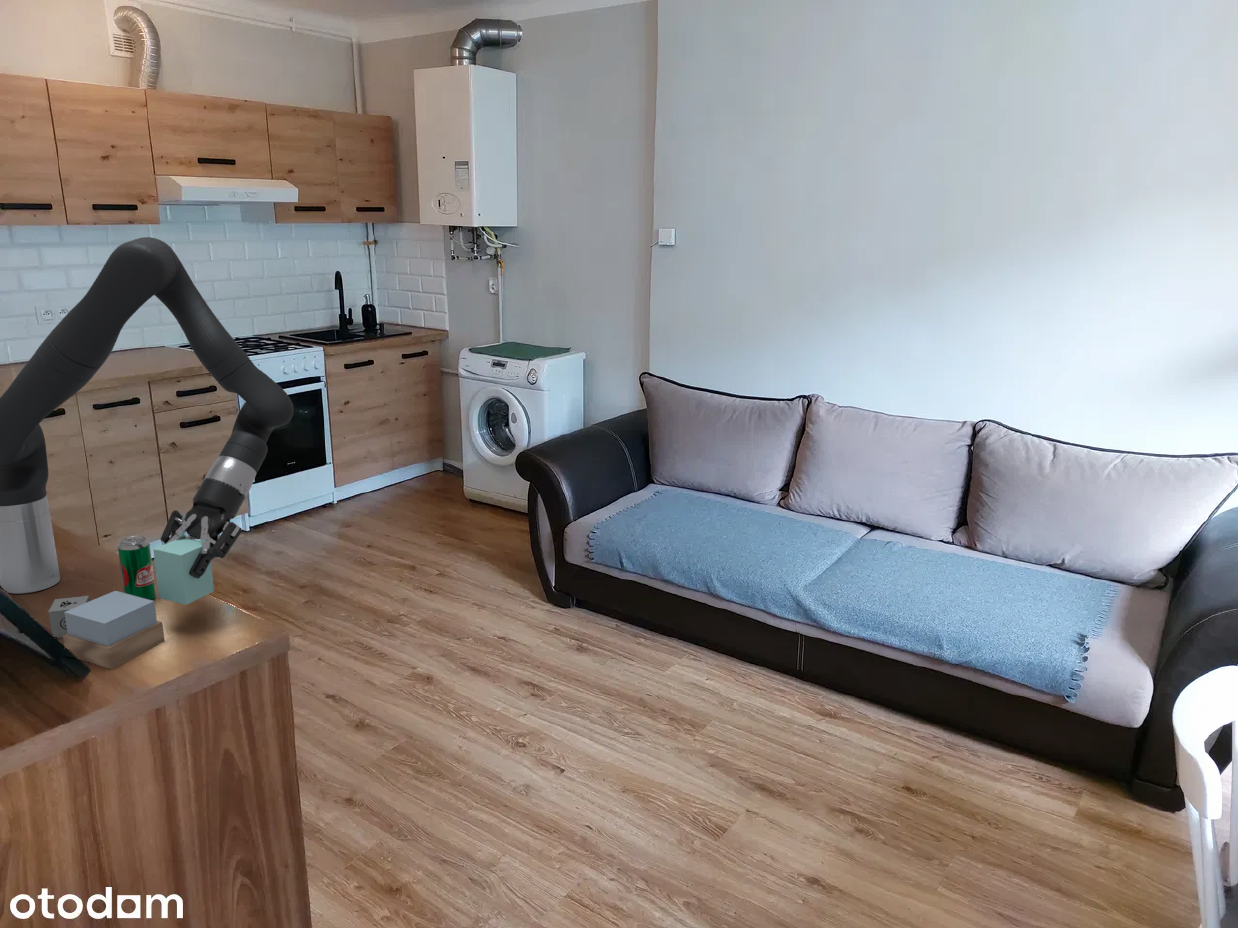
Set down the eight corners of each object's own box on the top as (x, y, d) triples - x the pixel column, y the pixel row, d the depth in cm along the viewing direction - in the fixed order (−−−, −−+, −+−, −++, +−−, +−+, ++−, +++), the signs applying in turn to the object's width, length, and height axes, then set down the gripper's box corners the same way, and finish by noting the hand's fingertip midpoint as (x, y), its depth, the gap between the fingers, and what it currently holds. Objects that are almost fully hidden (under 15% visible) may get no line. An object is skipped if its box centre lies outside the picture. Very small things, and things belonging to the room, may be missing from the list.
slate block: (67, 634, 137) (64, 612, 136) (118, 612, 145) (115, 590, 144) (107, 646, 134) (104, 623, 133) (157, 622, 142) (154, 600, 141)
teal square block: (158, 597, 145) (153, 549, 143) (186, 584, 151) (182, 537, 148) (186, 604, 143) (181, 555, 141) (213, 591, 149) (209, 543, 146)
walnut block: (66, 658, 138) (62, 636, 137) (120, 631, 147) (117, 610, 146) (112, 671, 134) (108, 648, 133) (165, 643, 143) (162, 621, 142)
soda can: (143, 608, 154) (134, 546, 151) (118, 604, 155) (110, 543, 152) (162, 596, 159) (155, 536, 156) (139, 593, 160) (131, 533, 157)
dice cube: (59, 625, 147) (55, 599, 146) (92, 621, 149) (88, 595, 148) (52, 638, 143) (48, 611, 141) (87, 634, 145) (83, 607, 143)
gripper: (180, 471, 151) (130, 556, 144) (245, 483, 147) (197, 572, 139) (206, 491, 157) (160, 573, 150) (269, 503, 153) (225, 589, 146)
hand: (178, 572), depth 145 cm, fingers closed on teal square block, 6 cm apart
